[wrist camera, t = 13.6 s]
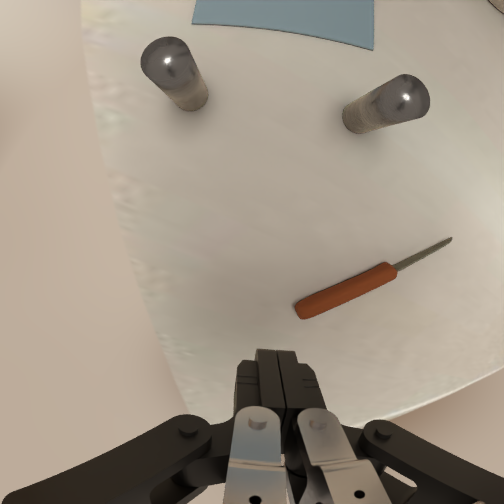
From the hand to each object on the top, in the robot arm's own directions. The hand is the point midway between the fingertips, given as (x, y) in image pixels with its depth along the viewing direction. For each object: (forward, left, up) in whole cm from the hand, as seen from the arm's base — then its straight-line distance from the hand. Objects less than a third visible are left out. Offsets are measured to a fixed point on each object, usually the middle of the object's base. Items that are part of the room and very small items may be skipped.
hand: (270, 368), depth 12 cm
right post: (-7, -13, -14) cm, 20 cm away
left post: (+6, -13, -14) cm, 20 cm away
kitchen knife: (-10, -1, -14) cm, 18 cm away
